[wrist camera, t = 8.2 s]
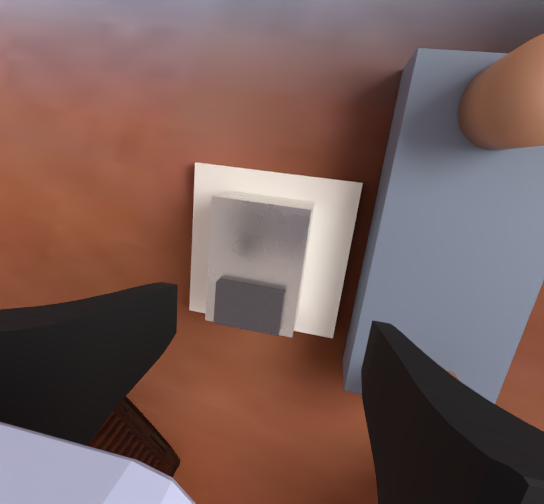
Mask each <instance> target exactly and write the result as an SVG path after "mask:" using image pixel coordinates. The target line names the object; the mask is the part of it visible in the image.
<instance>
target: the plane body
mask: <svg viewBox="0 0 544 504" xmlns="http://www.w3.org/2000/svg"><path fill="white" fill-rule="evenodd" d="M543 280H544V34H541V35H539V36H536V37H535V38H533V39H531V40H529V41H527V42H526V43H524V44H523V45H521V46H520V47H518V48H517V49H515V50H513V51H512V52H510V53H493V52H477V51H460V50H443V49H427V48H418V49H417V51H416V52H415V53H414V55H413V56H412V57H411V59H410V60H409V61H408V63H407V64H406V66H405V67H404V68H403V72H402V76H401V81H400V86H399V91H398V96H397V100H396V105H395V110H394V115H393V120H392V125H391V129H390V134H389V139H388V144H387V149H386V153H385V158H384V163H383V168H382V173H381V177H380V182H379V187H378V192H377V197H376V201H375V206H374V211H373V216H372V221H371V225H370V230H369V235H368V240H367V245H366V249H365V254H364V259H363V264H362V269H361V273H360V278H359V283H358V288H357V293H356V298H355V302H354V307H353V312H352V317H351V322H350V326H349V331H348V336H347V341H346V346H345V350H344V355H343V360H342V362H343V380H344V390H345V391H350V392H354V393H359V394H362V383H361V369H362V364H363V360H364V355H365V351H366V346H367V342H368V337H369V333H370V328H371V324H372V320H373V321H379V322H384V323H390V324H392V325H393V326H395V327H396V328H397V329H398V330H399V331H401V332H402V333H403V334H404V335H405V336H406V337H407V338H408V339H409V340H411V341H412V342H413V343H414V344H415V345H416V346H417V347H418V348H419V349H421V350H422V351H423V352H424V353H425V354H426V355H428V356H429V357H430V358H431V359H432V360H433V361H435V362H436V363H437V364H438V365H440V366H441V367H442V368H443V369H445V370H446V371H447V372H449V373H450V374H451V375H452V376H454V377H455V378H456V379H458V380H459V381H461V382H462V383H463V384H465V385H466V386H468V387H469V388H471V389H472V390H474V391H475V392H477V393H478V394H480V395H481V396H483V397H484V398H486V399H487V400H489V401H490V402H492V403H494V404H495V403H496V400H497V397H498V395H499V392H500V390H501V387H502V385H503V382H504V380H505V377H506V374H507V372H508V369H509V367H510V364H511V362H512V359H513V357H514V354H515V352H516V349H517V346H518V344H519V341H520V339H521V336H522V334H523V331H524V329H525V326H526V324H527V321H528V318H529V316H530V313H531V311H532V308H533V306H534V303H535V301H536V298H537V296H538V293H539V290H540V288H541V285H542V283H543Z"/></svg>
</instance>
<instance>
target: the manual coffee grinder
mask: <svg viewBox="0 0 544 504" xmlns="http://www.w3.org/2000/svg"><path fill="white" fill-rule="evenodd" d="M88 446H89V447H92V448H96V449H100V450H103V451H107V452H110V453H114V454H118V455H121V456H125V457H128V458H132V459H136V460H138V461H140V462H142V463H144V464H146V465H148V466H150V467H152V468H154V469H156V470H158V471H160V472H162V473H164V474H166V475H168V476H170V477H173V475H174V473H175V471H176V470H177V468H178V467H179V465H180V459H179V458H178V456H177V455H176V453H175V452H174V450H173V449H172V447H171V446H170V445H169V444H168V442H167V441H166V440H165V439H164V438H163V437H162V435H161V434H160V433H159V432H158V431H157V430H156V428H155V427H154V426H153V425H152V424H151V423H150V422H149V421H148V420H147V418H146V417H145V416H144V415H143V414H142V413H141V412H140V411H139V409H138V408H137V407H136V406H135V405H134V404H133V403H132V402H131V401H130V400H129V399H128V398H127V397H126V396H125V397H124V398H123V399H122V401H121V402H120V403H119V404H118V405H117V407H116V408H115V409H114V410H113V412H112V413H111V414H110V416H109V417H108V418H107V420H106V421H105V423H104V424H103V425H102V427H101V428H100V429H99V431H98V432H97V434H96V435H95V436H94V438H93V439H92V441H91V442H90V444H89V445H88Z"/></svg>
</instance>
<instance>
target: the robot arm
mask: <svg viewBox="0 0 544 504" xmlns="http://www.w3.org/2000/svg"><path fill="white" fill-rule="evenodd" d="M176 327H177V285H175V284H169V283H164V282H161V283H153V284H147V285H143V286H138V287H134V288H130V289H126V290H122V291H118V292H114V293H110V294H105V295H100V296H96V297H91V298H87V299H82V300H77V301H71V302H65V303H59V304H52V305H45V306H36V307H25V308H13V309H2V310H0V504H196V503H195V502H194V501H193V500H192V499H191V498H190V497H189V495H188V494H187V493H186V492H185V491H184V490H183V489H182V488H181V487H180V485H179V484H178V483H177V482H176V481H175V480H174V479H173V478H172V477H170V476H168V475H166V474H164V473H162V472H160V471H158V470H156V469H154V468H152V467H150V466H148V465H146V464H144V463H142V462H140V461H138V460H136V459H132V458H128V457H125V456H121V455H118V454H114V453H110V452H107V451H103V450H100V449H96V448H92V447H89V446H88V445H89V444H90V442H91V441H92V439H93V438H94V436H95V435H96V434H97V432H98V431H99V429H100V428H101V427H102V425H103V424H104V423H105V421H106V420H107V418H108V417H109V416H110V414H111V413H112V412H113V410H114V409H115V408H116V407H117V405H118V404H119V403H120V402H121V401H122V399H123V398H124V397H125V396H126V395H127V394H128V393H129V392H130V390H131V389H132V388H133V387H134V386H135V385H136V384H137V383H138V381H139V380H140V379H141V378H142V377H143V376H144V375H145V374H146V372H147V371H148V370H149V369H150V368H151V367H152V366H153V365H154V363H155V362H156V361H157V360H158V359H159V358H160V356H161V355H162V354H163V353H164V351H165V350H166V348H167V347H168V345H169V344H170V342H171V341H172V339H173V337H174V336H175V334H176ZM361 383H362V399H363V405H364V410H365V416H366V422H367V427H368V432H369V438H370V443H371V449H372V454H373V459H374V465H375V473H376V480H377V492H378V504H544V432H543V431H541V430H539V429H537V428H535V427H534V426H532V425H530V424H528V423H526V422H524V421H523V420H521V419H519V418H517V417H516V416H514V415H512V414H511V413H509V412H507V411H505V410H504V409H502V408H500V407H498V406H497V405H495V404H494V403H492V402H490V401H489V400H487V399H486V398H484V397H483V396H481V395H480V394H478V393H477V392H475V391H474V390H472V389H471V388H469V387H468V386H466V385H465V384H463V383H462V382H461V381H459V380H458V379H456V378H455V377H454V376H452V375H451V374H450V373H449V372H447V371H446V370H445V369H443V368H442V367H441V366H440V365H438V364H437V363H436V362H435V361H433V360H432V359H431V358H430V357H429V356H428V355H426V354H425V353H424V352H423V351H422V350H421V349H419V348H418V347H417V346H416V345H415V344H414V343H413V342H412V341H411V340H409V339H408V338H407V337H406V336H405V335H404V334H403V333H402V332H401V331H399V330H398V329H397V328H396V327H395V326H393V325H392V324H390V323H384V322H379V321H373V320H372V324H371V328H370V333H369V337H368V342H367V346H366V351H365V355H364V360H363V364H362V369H361Z"/></svg>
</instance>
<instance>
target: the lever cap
mask: <svg viewBox="0 0 544 504" xmlns="http://www.w3.org/2000/svg"><path fill="white" fill-rule="evenodd" d="M314 205H315V202H312V201H305V200H297V199H290V198H282V197H275V196H268V195H260V194H253V193H245V192H238V191H231V192H227V193H222V194H218V195H214V196H212V207H211V224H210V242H209V260H208V278H207V296H206V314H205V320H207V321H212V322H213V323H216V324H221V325H226V326H231V327H236V328H241V329H246V330H251V331H256V332H261V333H266V334H271V335H276V336H279V335H282V336H287V337H293V332H294V328H295V323H296V319H297V315H298V310H299V304H300V298H301V291H302V284H303V278H304V271H305V265H306V258H307V251H308V245H309V238H310V232H311V225H312V218H313V212H314Z"/></svg>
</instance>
